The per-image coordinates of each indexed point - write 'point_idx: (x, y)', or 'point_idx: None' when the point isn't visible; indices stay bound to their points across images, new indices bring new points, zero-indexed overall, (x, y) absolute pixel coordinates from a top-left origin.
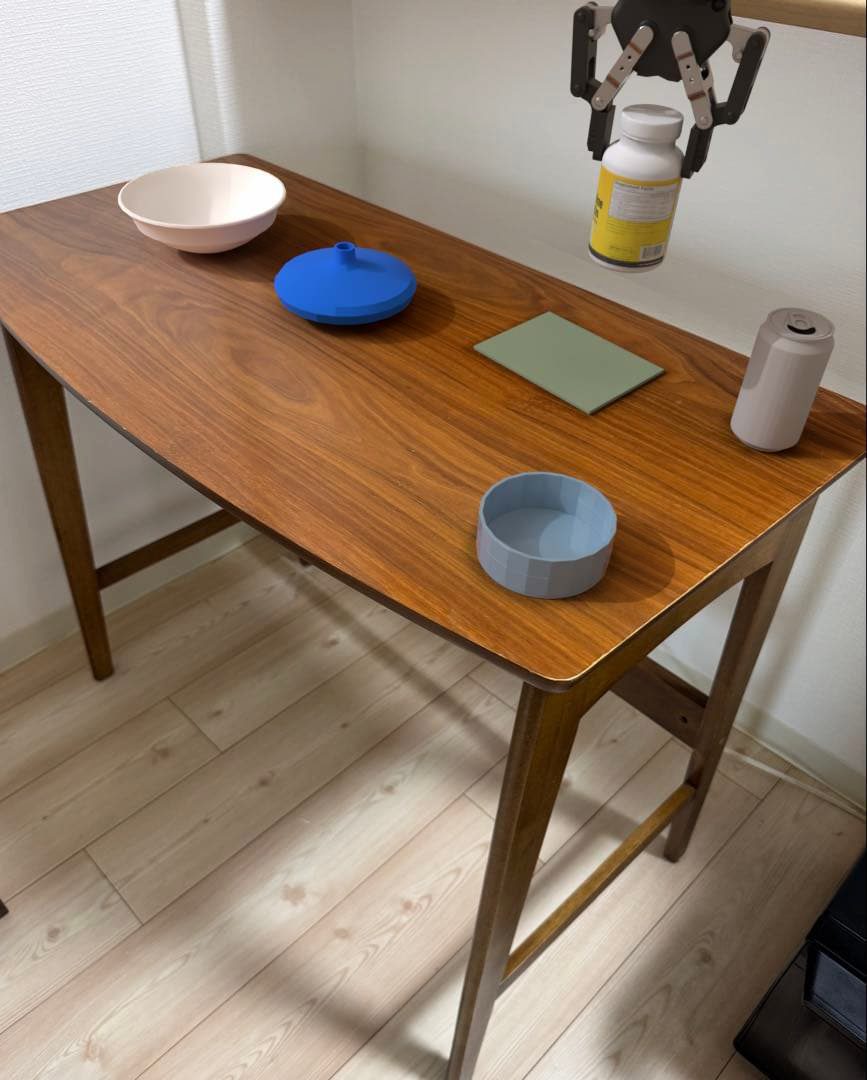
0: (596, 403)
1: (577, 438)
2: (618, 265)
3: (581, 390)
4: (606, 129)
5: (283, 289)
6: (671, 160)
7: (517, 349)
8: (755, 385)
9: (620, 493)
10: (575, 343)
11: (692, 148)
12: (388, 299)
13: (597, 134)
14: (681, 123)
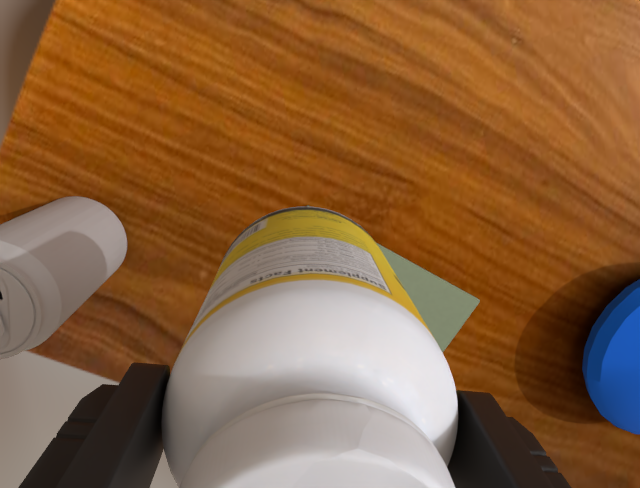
0: None
1: (312, 147)
2: (310, 207)
3: None
4: (496, 481)
5: None
6: (200, 386)
7: (423, 312)
8: (72, 232)
9: (235, 42)
10: None
11: (106, 432)
12: (624, 321)
13: (522, 450)
14: None
